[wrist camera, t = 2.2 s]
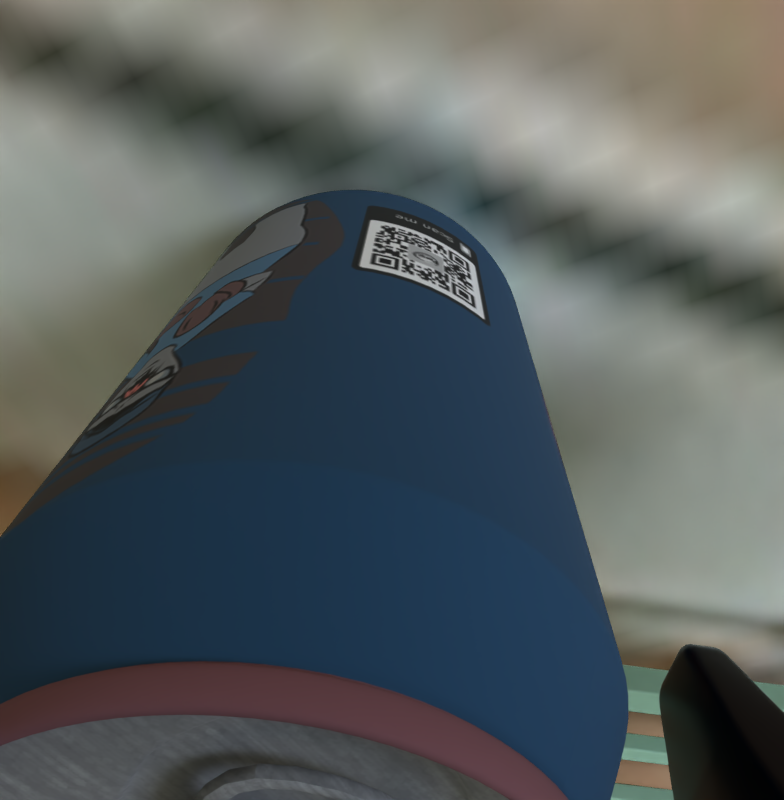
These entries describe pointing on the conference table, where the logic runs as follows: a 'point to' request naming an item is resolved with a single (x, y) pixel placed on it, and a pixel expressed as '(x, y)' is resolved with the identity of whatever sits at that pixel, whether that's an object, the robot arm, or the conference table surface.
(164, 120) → the conference table surface
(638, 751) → the rack
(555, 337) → the conference table surface
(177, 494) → the soda can
